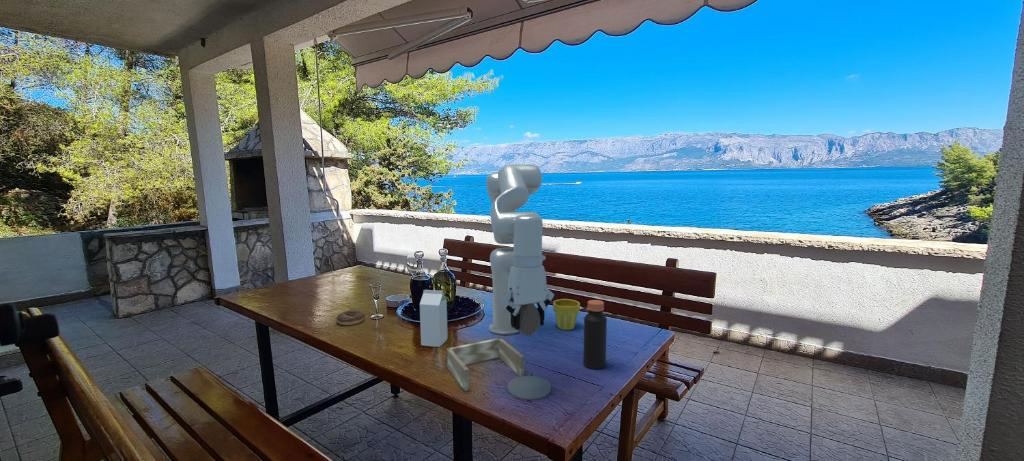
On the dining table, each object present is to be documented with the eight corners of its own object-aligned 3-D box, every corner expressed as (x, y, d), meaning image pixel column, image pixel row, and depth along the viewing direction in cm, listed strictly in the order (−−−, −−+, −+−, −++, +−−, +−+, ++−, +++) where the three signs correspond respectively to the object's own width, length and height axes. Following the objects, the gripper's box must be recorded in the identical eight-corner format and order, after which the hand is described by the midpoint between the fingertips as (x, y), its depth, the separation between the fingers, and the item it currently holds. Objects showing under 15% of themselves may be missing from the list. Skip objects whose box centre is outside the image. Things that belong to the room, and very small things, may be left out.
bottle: (601, 371, 121) (602, 306, 119) (579, 366, 125) (580, 303, 122) (608, 363, 127) (610, 301, 124) (588, 358, 131) (589, 297, 128)
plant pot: (585, 328, 157) (585, 303, 156) (565, 333, 151) (565, 308, 150) (567, 320, 165) (567, 297, 164) (547, 325, 160) (547, 301, 158)
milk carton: (440, 347, 139) (438, 293, 137) (420, 345, 141) (419, 292, 138) (447, 339, 146) (446, 288, 144) (429, 338, 148) (427, 287, 145)
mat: (536, 374, 120) (536, 372, 120) (559, 392, 109) (559, 390, 109) (500, 383, 114) (500, 381, 114) (520, 404, 104) (520, 402, 104)
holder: (500, 355, 133) (500, 337, 132) (524, 376, 119) (524, 356, 118) (446, 367, 125) (446, 348, 124) (465, 391, 110) (464, 370, 110)
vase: (514, 328, 113) (513, 297, 112) (538, 327, 114) (538, 297, 113) (516, 337, 106) (516, 305, 105) (542, 336, 107) (542, 304, 106)
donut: (355, 316, 173) (354, 306, 172) (370, 321, 166) (369, 311, 166) (331, 323, 164) (330, 313, 164) (346, 328, 158) (345, 318, 157)
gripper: (548, 256, 115) (547, 316, 117) (492, 262, 107) (492, 326, 109) (563, 260, 108) (562, 325, 111) (504, 267, 101) (505, 336, 103)
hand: (527, 325), depth 110 cm, fingers closed on vase, 6 cm apart
